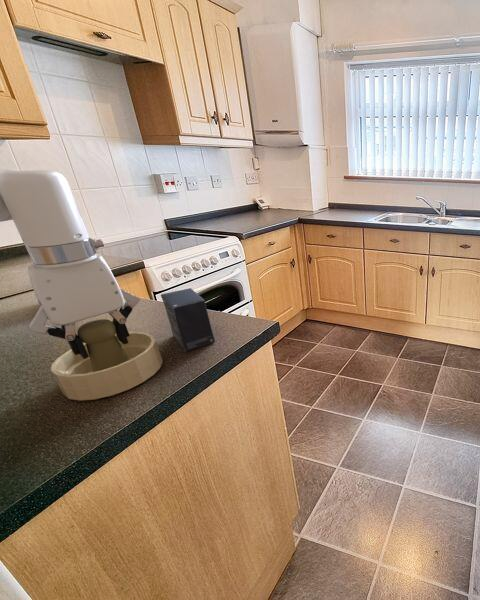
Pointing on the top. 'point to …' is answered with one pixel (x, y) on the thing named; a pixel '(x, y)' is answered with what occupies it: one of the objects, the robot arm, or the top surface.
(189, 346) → the small box
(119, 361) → the cork
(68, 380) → the bowl
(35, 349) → the top surface
